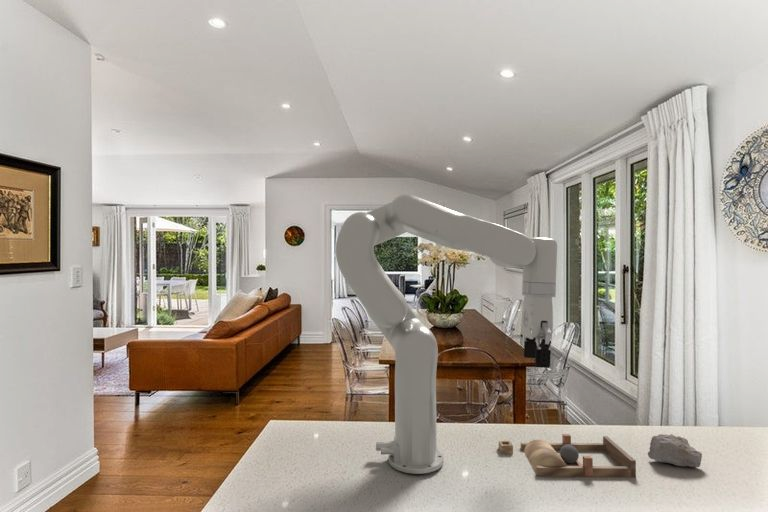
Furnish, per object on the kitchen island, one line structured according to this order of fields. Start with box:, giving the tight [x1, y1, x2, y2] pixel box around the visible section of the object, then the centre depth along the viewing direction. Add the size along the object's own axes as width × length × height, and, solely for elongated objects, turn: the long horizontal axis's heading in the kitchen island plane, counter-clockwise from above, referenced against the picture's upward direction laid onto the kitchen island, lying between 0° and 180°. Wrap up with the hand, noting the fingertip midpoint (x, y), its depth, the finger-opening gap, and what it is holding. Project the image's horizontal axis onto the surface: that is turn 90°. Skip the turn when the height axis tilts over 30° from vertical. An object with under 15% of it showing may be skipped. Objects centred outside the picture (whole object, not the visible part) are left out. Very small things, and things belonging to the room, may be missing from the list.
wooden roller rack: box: [520, 433, 637, 478], centre depth 102 cm, size 21×13×9 cm, turn 88°
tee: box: [498, 440, 514, 455], centre depth 108 cm, size 3×3×2 cm
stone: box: [647, 433, 703, 468], centre depth 101 cm, size 8×10×6 cm
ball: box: [559, 445, 579, 465], centre depth 102 cm, size 4×4×4 cm
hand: (536, 362), depth 105 cm, fingers open, 9 cm apart
